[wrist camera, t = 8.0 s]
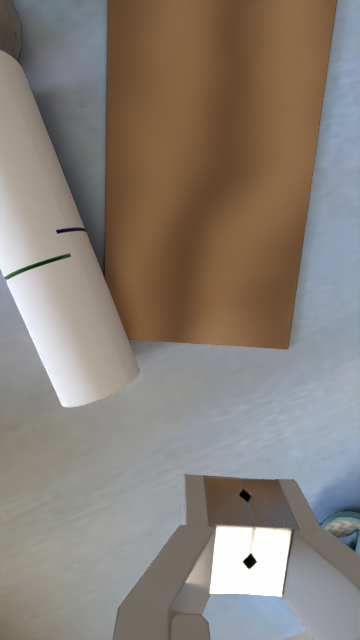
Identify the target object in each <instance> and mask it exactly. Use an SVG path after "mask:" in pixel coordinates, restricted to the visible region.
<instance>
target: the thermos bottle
mask: <svg viewBox="0 0 360 640" xmlns="http://www.w3.org/2000/svg"><path fill="white" fill-rule="evenodd" d="M21 39H22V36H21V25H20V21H19V17H18V13H17V11H16V9H15V7H14V4H13V2H12V1H11V0H0V50H1V51H4V52H5V53H7V54H9V55H10V56H12V57H13V58H14V59H15V60H16V61H17V59H18V56H19V53H20V49H21Z"/></svg>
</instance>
